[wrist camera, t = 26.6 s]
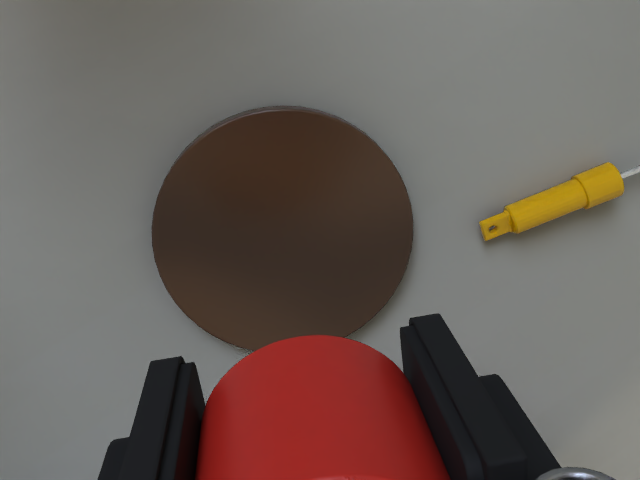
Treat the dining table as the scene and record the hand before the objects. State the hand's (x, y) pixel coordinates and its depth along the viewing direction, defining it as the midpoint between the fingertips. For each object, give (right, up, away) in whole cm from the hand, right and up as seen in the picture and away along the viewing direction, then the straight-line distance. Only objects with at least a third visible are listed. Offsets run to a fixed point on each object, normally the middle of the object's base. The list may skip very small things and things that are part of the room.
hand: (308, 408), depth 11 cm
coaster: (-1, +3, +8) cm, 9 cm away
